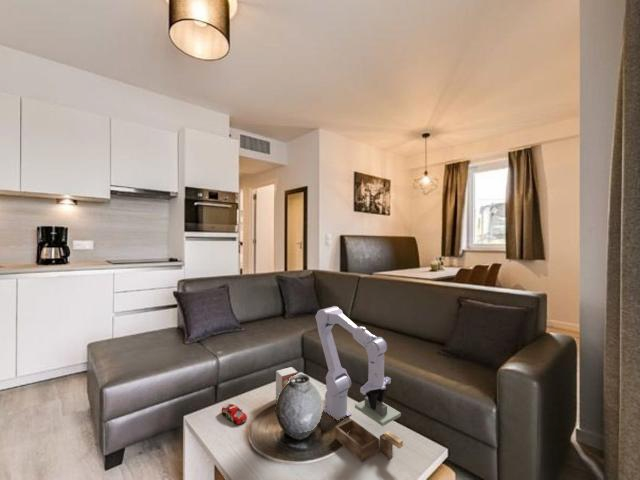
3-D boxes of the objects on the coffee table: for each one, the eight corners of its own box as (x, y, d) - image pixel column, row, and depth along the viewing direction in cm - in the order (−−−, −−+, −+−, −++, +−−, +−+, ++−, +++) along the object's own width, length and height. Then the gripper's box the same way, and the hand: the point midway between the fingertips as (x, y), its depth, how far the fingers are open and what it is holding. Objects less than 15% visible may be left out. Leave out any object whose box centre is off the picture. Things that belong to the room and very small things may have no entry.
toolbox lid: (354, 410, 117) (355, 396, 117) (372, 401, 123) (372, 389, 123) (382, 429, 106) (382, 414, 106) (400, 418, 112) (400, 404, 112)
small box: (281, 405, 132) (281, 376, 132) (275, 398, 137) (275, 370, 137) (297, 400, 136) (298, 371, 136) (291, 393, 142) (291, 366, 141)
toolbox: (335, 438, 111) (335, 423, 111) (354, 428, 117) (355, 413, 117) (371, 470, 97) (372, 452, 96) (392, 456, 103) (392, 440, 102)
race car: (249, 421, 121) (249, 411, 121) (237, 428, 117) (237, 418, 117) (231, 408, 130) (231, 399, 130) (219, 414, 126) (219, 404, 126)
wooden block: (384, 438, 103) (384, 432, 103) (388, 436, 104) (388, 430, 104) (399, 448, 98) (399, 442, 98) (402, 446, 99) (402, 440, 99)
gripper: (370, 381, 106) (370, 419, 106) (397, 370, 114) (396, 405, 115) (356, 373, 111) (356, 409, 112) (383, 363, 120) (382, 397, 120)
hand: (375, 406), depth 114 cm, fingers closed on toolbox lid, 2 cm apart
